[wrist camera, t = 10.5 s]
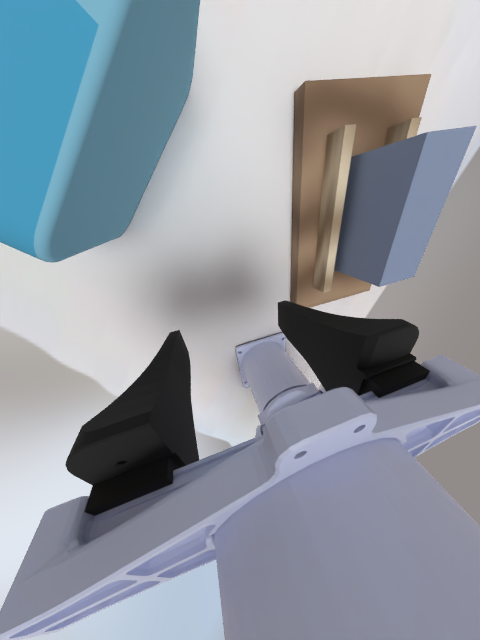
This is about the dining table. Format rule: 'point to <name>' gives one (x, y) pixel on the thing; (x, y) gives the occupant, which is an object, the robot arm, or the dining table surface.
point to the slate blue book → (397, 204)
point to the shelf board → (339, 168)
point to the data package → (86, 114)
